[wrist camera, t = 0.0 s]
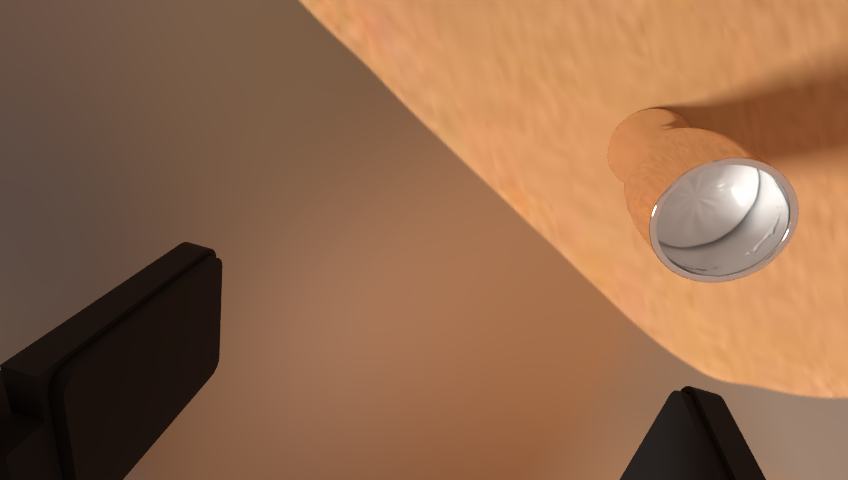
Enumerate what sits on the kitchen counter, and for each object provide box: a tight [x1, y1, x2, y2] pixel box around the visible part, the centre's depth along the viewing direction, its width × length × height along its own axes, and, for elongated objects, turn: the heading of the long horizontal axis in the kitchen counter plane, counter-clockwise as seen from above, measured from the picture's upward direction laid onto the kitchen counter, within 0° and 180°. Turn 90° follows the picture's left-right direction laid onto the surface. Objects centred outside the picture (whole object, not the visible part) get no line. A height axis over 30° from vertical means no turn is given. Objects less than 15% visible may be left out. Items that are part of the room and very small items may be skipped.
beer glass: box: [607, 108, 799, 283], centre depth 30 cm, size 7×7×15 cm
